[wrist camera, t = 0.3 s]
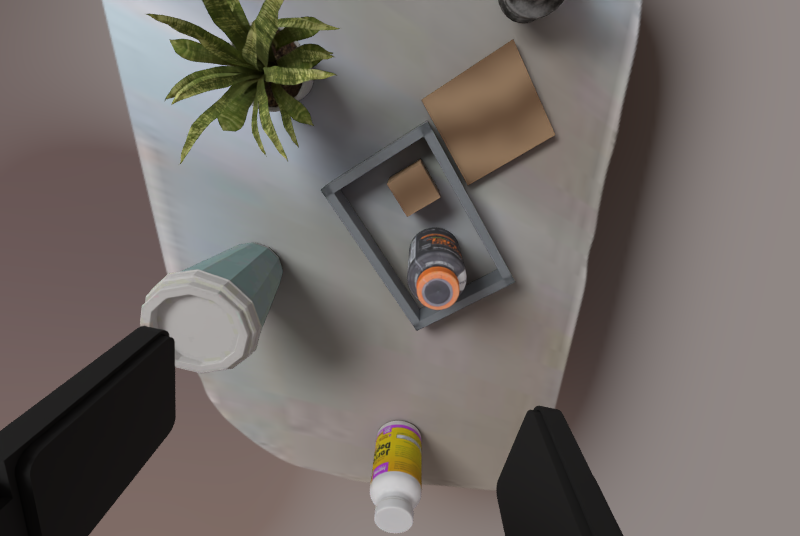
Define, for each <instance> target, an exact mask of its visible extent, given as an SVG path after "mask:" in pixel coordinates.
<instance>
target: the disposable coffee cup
mask: <svg viewBox="0 0 800 536" xmlns="http://www.w3.org/2000/svg"><path fill="white" fill-rule="evenodd" d="M282 273H283V270H282V266H281V263H280V260H279V257H278V256H277V255H276V254H275V253H274V252H273V251H272V250H271V249H270V248H269V247H267V246H264V245H261V244H258V243H247V244H240V245H237V246H235V247H233V248H231V249H229V250H226V251H224V252H222V253H220V254H218V255H215V256H213V257H211V258H209V259H207V260H205V261H202V262H200V263H198V264H196V265H194V266H191V267H189V268H187V269H185V270H183V271H180V272H175V273H169V274H168V275H167V276H166V277H165V278H164V279H162V281H160V282H159V283H158V284H157V285H156V286H155V287H154V288H153V289H152V290H151V292H150V293H149V294H148V295H147V296H146V303H145V304H143V305H142V310H141V320H140V326H147V327H152V328H157V329H162V330H166V331H168V333H169V336H170V337H172V338H173V339H174V341H175V367H178V368H182V369H186V370H190V371H194V372H198V373H206V372H213V371H219V370H226V369H233V368H234V367H235V366H237V365H238V364H239V363H241V362H242V361H243V360H245V359H246V358H247V357H249V356H250V355H251V354H252V353H253V352H254V351H255V350H256V348H257V344H258V340H259V336H260V333H261V330H262V327H263V325H264V322H265V319H266V317H267V314H268V312H269V309H270V307H271V304H272V302H273V299H274V297H275V294H276V292H277V289H278V287H279V284H280V281H281V277H282Z"/></svg>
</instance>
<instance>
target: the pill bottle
mask: <svg viewBox="0 0 800 536" xmlns="http://www.w3.org/2000/svg"><path fill="white" fill-rule="evenodd" d="M407 281H408V286H409V288H410V290H411V292H412V294H413V295H414V296H415V297H416V298H417V299H418V300H420V301H421V303H422V304H423V305H425V306H426V307H428V308H430V309H434V310H442V309H446V308H448V307H450V306H452V305H453V304H454V303H455V302H456V300H457V298H458V297H459V296H460V294H461V293H462V292H463V290H464V288H465V285H466V270H465V266H464V262H463V259H462V255H461V252H460V248H459V245H458V242H457V240H456V238H455V237H454V236H453V235H452V234H451V233H450V232H448V231H447V230H445V229H442V228H428V229H425V230H423V231H421V232H419V233H418V234H417V235H416V236H415V237H414V238H413V240H412V242H411V244H410V248H409V260H408V274H407Z"/></svg>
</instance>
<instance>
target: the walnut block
mask: <svg viewBox="0 0 800 536" xmlns="http://www.w3.org/2000/svg"><path fill="white" fill-rule="evenodd" d="M387 185H388V187H389V188H390V190H391V191H392V193H393V195H394V196H395V198H396V200H397V201H398V203H399V204H400V206H401V208H402V209H403V211H404V213H405V214H406V216H407V217H408V216H410V215H411V214H413V213H415V212H416V211H418V210H420V209H422V208H423V207H425V206H427V205H428V204H430V203H432V202H434V201H435V200H437V199H439V198H441V197H440V193H439V190H438V188H437V186H436V184H435V183H434V181H433V179H432V177H431V176H430V174H429V172H428V170H427V169H426V167H425V165H424V163H423V162H422V160H421V158H420V159H419V160H417V161H416V162H414V163H412V164H411V165H409V166H408V167H406V168H404V169H403V170H401V171H399V172H398V173H396V174H395V175H393V176H391V177H390V178H389V180H388V183H387Z"/></svg>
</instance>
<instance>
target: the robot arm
mask: <svg viewBox="0 0 800 536" xmlns="http://www.w3.org/2000/svg"><path fill="white" fill-rule="evenodd" d="M174 422H175V341H174V339H173V338H172V337H170V336H169V333H168V331H166V330H162V329H157V328H152V327H147V326H141V327H139V328H137V329H136V330H135V331H133V332H132V333H131V334H129V335H128V336H127V337H125V338H124V339H123V340H121V341H120V342H119V343H117V344H116V345H115V346H113V347H112V348H111V349H109V350H108V351H107V352H105V353H104V354H103V355H101V356H100V357H98V358H97V359H96V360H94V361H93V362H92V363H91V364H89V365H88V366H87V367H85V368H84V369H82V370H81V371H80V372H78V373H77V374H76V375H74V376H73V377H72V378H70V379H69V380H68V381H66V382H65V383H64V384H62V385H61V386H60V387H58V388H57V389H56V390H54V391H53V392H52V393H51V394H49V395H48V396H46V397H45V398H44V399H42V400H41V401H40V402H38V403H37V404H36V405H34V406H33V407H32V408H30V409H29V410H28V411H26V412H25V413H24V414H22V415H21V416H20V417H18V418H17V419H16V420H14V421H13V422H11V423H10V424H9V425H8V426H6V427H5V428H3V429H2V430H1V431H0V536H88V535H89V534H90V533H91V532H92V530H93V529H94V528H95V527H96V525H97V524H98V523H99V521H100V520H101V519H102V518H103V516H104V515H105V513H106V512H107V511H108V510H109V509H110V508H111V506H112V505H113V504H114V503H115V501H116V500H117V499H118V497H119V496H120V495H121V494H122V492H123V491H124V490H125V489H126V487H127V486H128V485H129V484H130V482H131V481H132V480H133V479H134V477H135V476H136V475H137V473H138V472H139V471H140V470H141V468H142V467H143V466H144V465H145V463H146V462H147V461H148V459H149V458H150V457H151V456H152V454H153V453H154V452H155V451H156V449H157V448H158V446H160V444H161V443H162V442H163V440H164V439H165V438H166V437H167V435H168V434H169V433H170V431H171V430H172V428H173V425H174ZM497 499H498V504H499V508H500V513H501V518H502V523H503V528H504V532H505V536H623V534H622V532H621V530H620V528H619V526H618V524H617V522H616V520H615V518H614V516H613V514H612V512H611V510H610V508H609V506H608V504H607V502H606V500H605V498H604V496H603V494H602V492H601V489H600V487H599V485H598V484H597V481H596V480H595V478H594V476H593V475H592V473H591V471H590V469H589V467H588V464H587V462H586V460H585V459H584V456H583V454H582V452H581V450H580V448H579V446H578V444H577V442H576V440H575V438H574V436H573V434H572V432H571V430H570V428H569V426H568V424H567V422H566V420H565V418H564V416H563V414H562V412H561V411H560V410H557V409H553V408H548V407H543V406H536V407H535V408H534V410H529V411H528V412H527V413H526V416H525V418H524V420H523V423H522V425H521V427H520V430H519V432H518V434H517V437H516V439H515V441H514V444H513V446H512V449H511V451H510V453H509V456H508V458H507V460H506V463H505V465H504V467H503V470H502V472H501V474H500V477H499V479H498V482H497Z"/></svg>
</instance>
